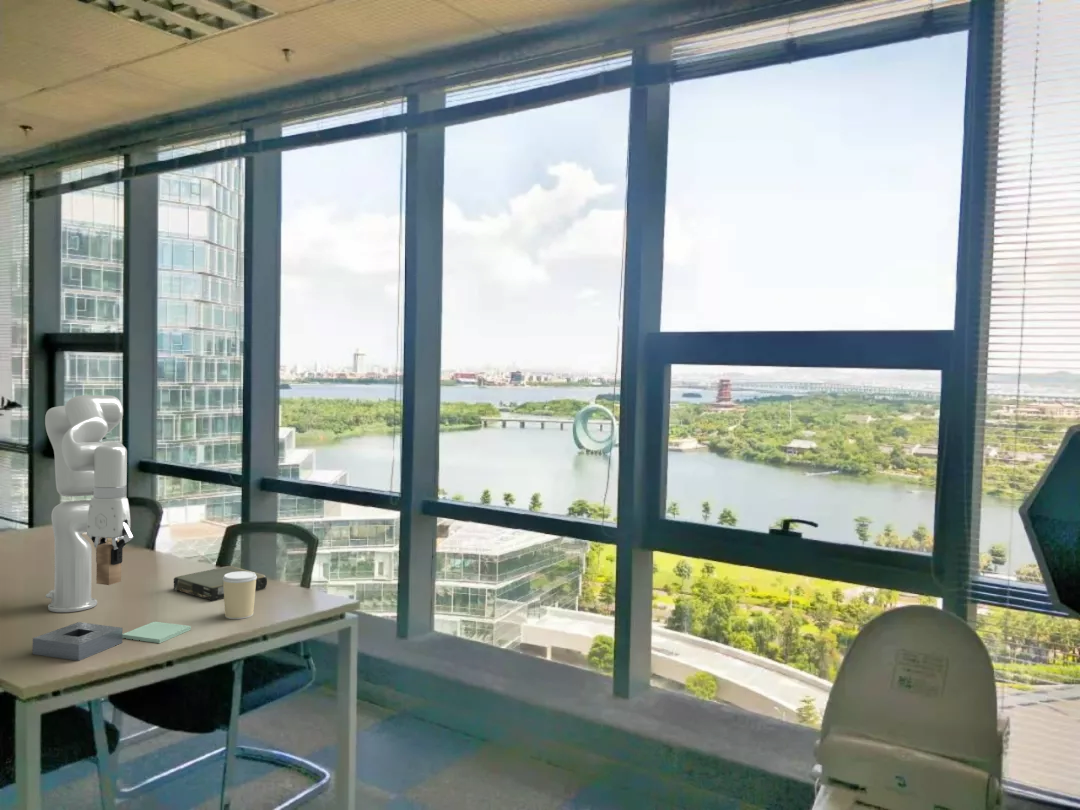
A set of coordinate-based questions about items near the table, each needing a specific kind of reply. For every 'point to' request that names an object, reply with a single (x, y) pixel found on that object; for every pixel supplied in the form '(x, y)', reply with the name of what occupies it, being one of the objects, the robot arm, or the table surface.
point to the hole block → (77, 641)
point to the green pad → (156, 632)
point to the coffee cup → (239, 594)
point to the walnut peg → (107, 566)
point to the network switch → (211, 582)
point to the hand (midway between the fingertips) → (109, 562)
